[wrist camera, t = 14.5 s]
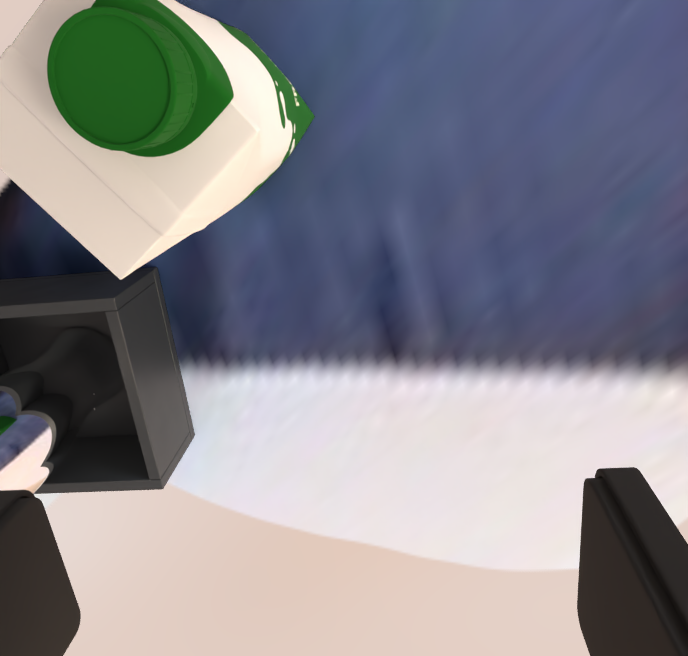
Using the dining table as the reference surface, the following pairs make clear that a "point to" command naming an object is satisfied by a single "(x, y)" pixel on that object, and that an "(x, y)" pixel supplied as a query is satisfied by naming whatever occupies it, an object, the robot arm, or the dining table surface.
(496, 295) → the dining table surface
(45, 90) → the milk carton
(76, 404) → the beer glass
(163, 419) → the bin
